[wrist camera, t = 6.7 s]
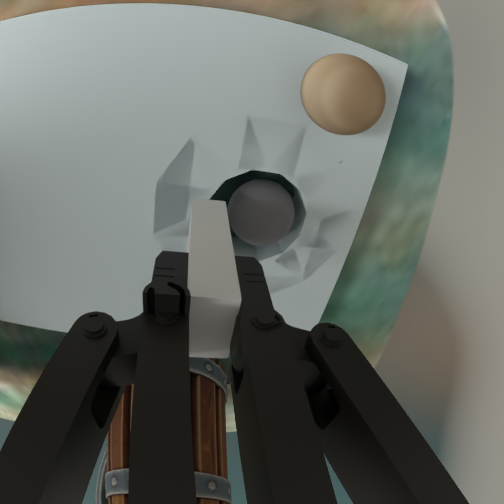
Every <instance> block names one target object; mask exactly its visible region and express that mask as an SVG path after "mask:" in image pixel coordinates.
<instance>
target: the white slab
mask: <svg viewBox="0 0 504 504" xmlns="http://www.w3.org/2000/svg"><path fill="white" fill-rule="evenodd" d="M337 53H343V54H350V55H353V56H356V57H359V58H361V59H363V60H364V61H366V62H367V63H369V64H370V65H371V66H372V67H373V68H374V69H375V70H376V71H377V73H378V74H379V76H380V77H381V79H382V82H383V84H384V87H385V92H386V103H385V108H384V111H383V113H382V115H381V117H380V118H379V120H378V121H377V122H376V123H375V124H374V125H373V126H372V127H371V128H369V129H368V130H366V131H364V132H362V133H359V134H355V135H337V134H333V133H330V132H328V131H326V130H324V129H322V128H320V127H319V126H318V125H317V124H315V123H314V122H313V121H312V120H311V119H310V117H309V116H308V115H307V113H306V111H305V109H304V107H303V104H302V101H301V95H300V87H301V82H302V79H303V76H304V74H305V72H306V71H307V69H308V68H309V67H310V66H311V65H312V64H313V63H314V62H315V61H317V60H318V59H320V58H322V57H324V56H327V55H330V54H337ZM407 68H408V64H406V63H404V62H402V61H399V60H397V59H395V58H393V57H391V56H388V55H386V54H384V53H381V52H379V51H376V50H374V49H371V48H369V47H366V46H364V45H361V44H358V43H356V42H353V41H350V40H348V39H345V38H342V37H339V36H336V35H333V34H330V33H327V32H323V31H320V30H317V29H313V28H310V27H306V26H303V25H299V24H295V23H291V22H287V21H283V20H279V19H275V18H270V17H266V16H261V15H256V14H250V13H245V12H239V11H233V10H226V9H219V8H211V7H202V6H191V5H178V4H157V3H123V4H102V5H89V6H79V7H71V8H63V9H56V10H50V11H44V12H39V13H34V14H29V15H24V16H20V17H15V18H11V19H7V20H3V21H0V320H1V321H5V322H10V323H15V324H20V325H26V326H31V327H37V328H42V329H48V330H54V331H61V332H67V333H68V331H69V330H70V328H71V327H72V325H73V324H74V322H75V321H76V320H77V319H78V318H79V317H80V316H82V315H84V314H86V313H88V312H95V311H98V312H105V313H106V314H108V315H110V316H112V317H113V318H114V320H115V321H122V320H128V319H132V318H134V317H136V316H139V315H140V314H141V313H142V312H143V294H142V292H143V290H144V288H145V286H147V285H148V284H149V283H151V281H152V276H153V270H154V265H155V259H156V257H157V256H158V255H159V254H160V253H161V252H162V251H175V252H187V247H188V236H189V226H190V217H191V208H192V199H193V198H198V199H208V200H209V199H210V198H211V197H212V195H213V194H214V193H215V192H216V191H217V189H218V188H219V187H220V186H221V185H222V183H223V182H224V181H225V180H227V179H230V178H232V177H235V176H238V175H240V174H243V173H246V172H248V171H251V170H257V171H264V172H271V173H278V174H281V175H282V176H284V177H285V178H286V179H287V180H288V181H290V182H291V185H292V188H293V191H294V198H293V203H294V208H295V217H294V222H293V225H292V227H291V229H290V231H289V232H288V233H287V234H286V236H285V237H283V238H282V239H281V240H280V241H278V242H276V243H274V244H271V245H267V246H256V245H252V244H249V243H246V242H245V241H243V240H241V239H240V238H239V237H232V236H231V239H232V245H233V251H234V255H235V256H247V257H255V258H256V259H257V260H258V262H259V263H260V264H261V265H262V268H263V271H264V276H265V278H266V283H267V285H268V289H269V293H270V296H271V300H272V303H273V307H274V310H276V311H277V312H278V313H279V314H281V315H282V317H283V319H284V320H285V323H287V324H288V325H290V326H293V327H296V328H300V329H303V330H307V331H311V330H312V328H313V327H314V326H315V325H317V324H318V323H319V321H320V318H321V316H322V314H323V312H324V309H325V307H326V305H327V303H328V300H329V298H330V296H331V293H332V291H333V289H334V286H335V284H336V282H337V279H338V277H339V274H340V272H341V270H342V267H343V265H344V262H345V260H346V257H347V255H348V252H349V250H350V247H351V245H352V242H353V239H354V237H355V234H356V232H357V229H358V226H359V224H360V221H361V218H362V216H363V213H364V210H365V207H366V204H367V202H368V199H369V196H370V193H371V190H372V187H373V184H374V181H375V179H376V176H377V173H378V169H379V166H380V163H381V160H382V157H383V154H384V151H385V148H386V144H387V141H388V138H389V134H390V131H391V128H392V124H393V121H394V117H395V114H396V110H397V107H398V103H399V99H400V95H401V92H402V88H403V84H404V80H405V76H406V72H407Z"/></svg>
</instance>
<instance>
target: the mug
mask: <svg viewBox="0 0 504 504" xmlns="http://www.w3.org/2000/svg"><path fill="white" fill-rule="evenodd" d="M189 370H190V405H191V428H192V446H193V461H194V475H195V487H196V499H197V504H232V502H231V501H232V500H231V484H230V481H229V480H228V476H227V475H228V473H227V450H226V449H227V448H226V417H225V404H226V402H227V382H226V376H225V374H224V369H223V366H222V365H221V363H220V361H218V360H217V359H216V358H201V357H189ZM133 393H134V384H132V385H126V388H125V391H124V393H123V395H122V398H121V400H120V403H119V405H118V408H117V410H116V413H115V415H114V417H113V420H112V423H111V425H110V428H109V430H108V433H107V449H106V451H105V453H104V456H103V459H102V461H101V465H100V469H99V474H98V480H97V487H96V504H128V483H129V449H130V431H131V416H132V404H133Z"/></svg>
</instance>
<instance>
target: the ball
mask: <svg viewBox="0 0 504 504" xmlns="http://www.w3.org/2000/svg"><path fill="white" fill-rule="evenodd" d="M227 213H228V220H229V224H230V226H231V228H232V230H233V231H234V233H235V234H236V235H237V236H238V237H239V238H240V239H241V240H243V241H245V242H246V243H249V244H252V245H256V246H267V245H271V244H274V243H276V242H278V241H280V240H281V239H282V238H283V237H285V236H286V234H287V233H288V232H289V231H290V229H291V227H292V225H293V222H294V217H295V208H294V203H293V200H292V198H291V196H290V194H289V193H288V191H287V190H286V189H285V188H284V187H283V186H281V185H280V184H278V183H276V182H275V181H272V180H268V179H254V180H250V181H248V182H246V183H244V184H242V185H241V186H240V187H238V188H237V189H236V191H235V192H234V193H233V195H232V196H231V198H230V201H229V204H228V210H227Z"/></svg>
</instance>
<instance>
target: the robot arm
mask: <svg viewBox="0 0 504 504" xmlns="http://www.w3.org/2000/svg"><path fill="white" fill-rule="evenodd" d="M142 294H143V312H142V313H141V314H140V315H139V316H136V317H134V318H132V319H128V320H122V321H115V320H114V318H113V317H112V316H110V315H108V314H106V313H105V312H98V311H95V312H88V313H86V314H84V315H82V316H80V317H79V318H78V319H77V320H76V321H75V322H74V324H73V325H72V327H71V328H70V330H69V331H68V333H67V334H66V336H65V337H64V339H63V341H62V342H61V344H60V345H59V347H58V348H57V350H56V352H55V353H54V355H53V356H52V358H51V360H50V361H49V363H48V364H47V366H46V368H45V369H44V371H43V373H42V374H41V376H40V378H39V379H38V381H37V383H36V385H35V386H34V388H33V390H32V391H31V393H30V395H29V397H28V399H27V400H26V402H25V404H24V406H23V408H22V409H21V411H20V413H19V415H18V417H17V419H16V421H15V423H14V425H13V427H12V429H11V430H10V433H9V434H8V437H7V438H6V441H5V443H4V445H3V447H2V449H1V451H0V504H82V502H83V499H84V496H85V493H86V490H87V487H88V484H89V481H90V478H91V476H92V473H93V470H94V467H95V464H96V462H97V459H98V456H99V453H100V451H101V448H102V446H103V443H104V440H105V438H106V435H107V433H108V430H109V428H110V425H111V423H112V420H113V417H114V415H115V413H116V410H117V408H118V405H119V403H120V400H121V398H122V395H123V393H124V391H125V388H126V385H132V384H134V393H133V404H132V416H131V431H130V449H129V483H128V504H197V499H196V487H195V475H194V461H193V446H192V428H191V405H190V370H189V357H201V358H228V357H229V353H230V352H231V360H232V361H231V365H230V369H229V373H228V378H227V384H230V381H231V389H232V397H233V405H234V413H235V421H236V429H237V436H238V443H239V450H240V458H241V464H242V471H243V478H244V484H245V492H246V498H247V504H337V501H336V497H335V493H334V490H333V486H332V483H331V479H330V475H329V472H328V468H327V465H326V461H325V457H324V454H325V456H326V458H327V460H328V461H329V463H330V465H331V466H332V468H333V470H334V472H335V473H336V475H337V477H338V478H339V480H340V482H341V484H342V485H343V487H344V489H345V490H346V492H347V494H348V495H349V497H350V499H351V500H352V502H353V504H469V503H468V501H467V500H466V498H465V497H464V495H463V494H462V492H461V491H460V490H459V488H458V487H457V485H456V484H455V482H454V481H453V480H452V478H451V476H450V475H449V473H448V472H447V470H446V469H445V468H444V466H443V465H442V463H441V462H440V460H439V459H438V458H437V456H436V455H435V453H434V452H433V450H432V449H431V447H430V446H429V445H428V443H427V442H426V440H425V439H424V438H423V436H422V435H421V433H420V432H419V431H418V429H417V428H416V426H415V425H414V423H413V422H412V421H411V419H410V418H409V416H407V414H406V412H405V411H404V409H403V408H402V407H401V405H400V404H399V403H398V401H397V400H396V399H395V397H394V396H393V394H392V393H391V392H390V390H389V389H388V388H387V386H386V385H385V383H384V382H383V381H382V379H381V378H380V377H379V375H378V374H377V373H376V371H375V370H374V368H373V367H372V366H371V364H370V363H369V362H368V360H367V359H366V358H365V356H364V355H363V354H362V352H361V351H360V350H359V348H358V347H357V346H356V344H355V343H354V342H353V340H352V339H351V338H350V336H349V335H348V334H347V333H346V332H345V331H344V330H343V329H342V328H340V327H339V326H337V325H335V324H331V323H319V324H317V325H315V326H314V327H313V328H312V330H311V331H307V330H303V329H300V328H296V327H293V326H290V325H288V324H287V323H285V320H284V319H283V317H282V315H281V314H279V313H278V312H277V311H276V310H274V307H273V303H272V300H271V296H270V293H269V289H268V285H267V283H266V278H265V276H264V271H263V268H262V265H261V264H260V263H259V262H258V260H257V259H256V258H255V257H247V256H235V255H234V251H233V245H232V239H231V232H230V226H229V220H228V214H227V207H226V201H218V200H208V199H198V198H193V199H192V208H191V217H190V226H189V236H188V247H187V252H175V251H162V252H161V253H160V254H159V255H158V256H157V257H156V259H155V265H154V270H153V276H152V281H151V283H149V284H148V285H147V286H145V288H144V290H143V292H142ZM323 453H324V454H323Z"/></svg>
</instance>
